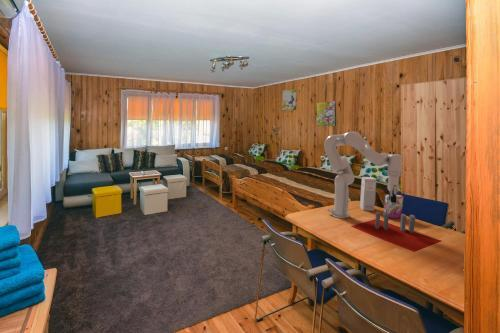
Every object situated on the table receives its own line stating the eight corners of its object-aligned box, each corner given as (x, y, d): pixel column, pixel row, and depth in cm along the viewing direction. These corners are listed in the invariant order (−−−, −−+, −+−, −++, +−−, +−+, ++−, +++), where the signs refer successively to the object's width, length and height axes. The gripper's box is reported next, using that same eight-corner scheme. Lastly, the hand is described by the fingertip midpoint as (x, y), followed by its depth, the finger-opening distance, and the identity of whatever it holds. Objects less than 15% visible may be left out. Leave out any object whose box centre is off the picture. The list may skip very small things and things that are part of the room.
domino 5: (410, 232, 180) (411, 217, 178) (408, 229, 185) (409, 214, 183) (413, 232, 179) (415, 217, 178) (411, 229, 184) (413, 214, 182)
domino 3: (391, 205, 183) (392, 190, 182) (389, 203, 188) (390, 188, 186) (394, 205, 183) (395, 190, 181) (393, 203, 187) (394, 188, 186)
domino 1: (375, 228, 186) (376, 213, 184) (374, 225, 191) (376, 211, 189) (379, 228, 185) (380, 214, 184) (378, 226, 190) (379, 211, 188)
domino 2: (384, 229, 184) (385, 214, 183) (383, 226, 189) (384, 212, 187) (387, 229, 184) (388, 214, 182) (386, 227, 188) (387, 212, 187)
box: (362, 210, 224) (365, 179, 220) (359, 207, 232) (361, 176, 228) (374, 210, 223) (376, 179, 219) (370, 207, 231) (372, 177, 227)
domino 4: (401, 231, 181) (402, 216, 180) (399, 228, 186) (401, 213, 184) (404, 231, 181) (406, 216, 179) (403, 228, 186) (404, 214, 184)
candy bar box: (385, 218, 206) (387, 196, 203) (383, 215, 211) (384, 194, 208) (401, 218, 205) (403, 196, 202) (398, 216, 209) (400, 194, 207)
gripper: (385, 171, 191) (384, 197, 194) (390, 175, 175) (388, 204, 178) (397, 171, 189) (396, 198, 192) (403, 176, 173) (401, 205, 176)
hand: (392, 200), depth 185 cm, fingers closed on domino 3, 4 cm apart
